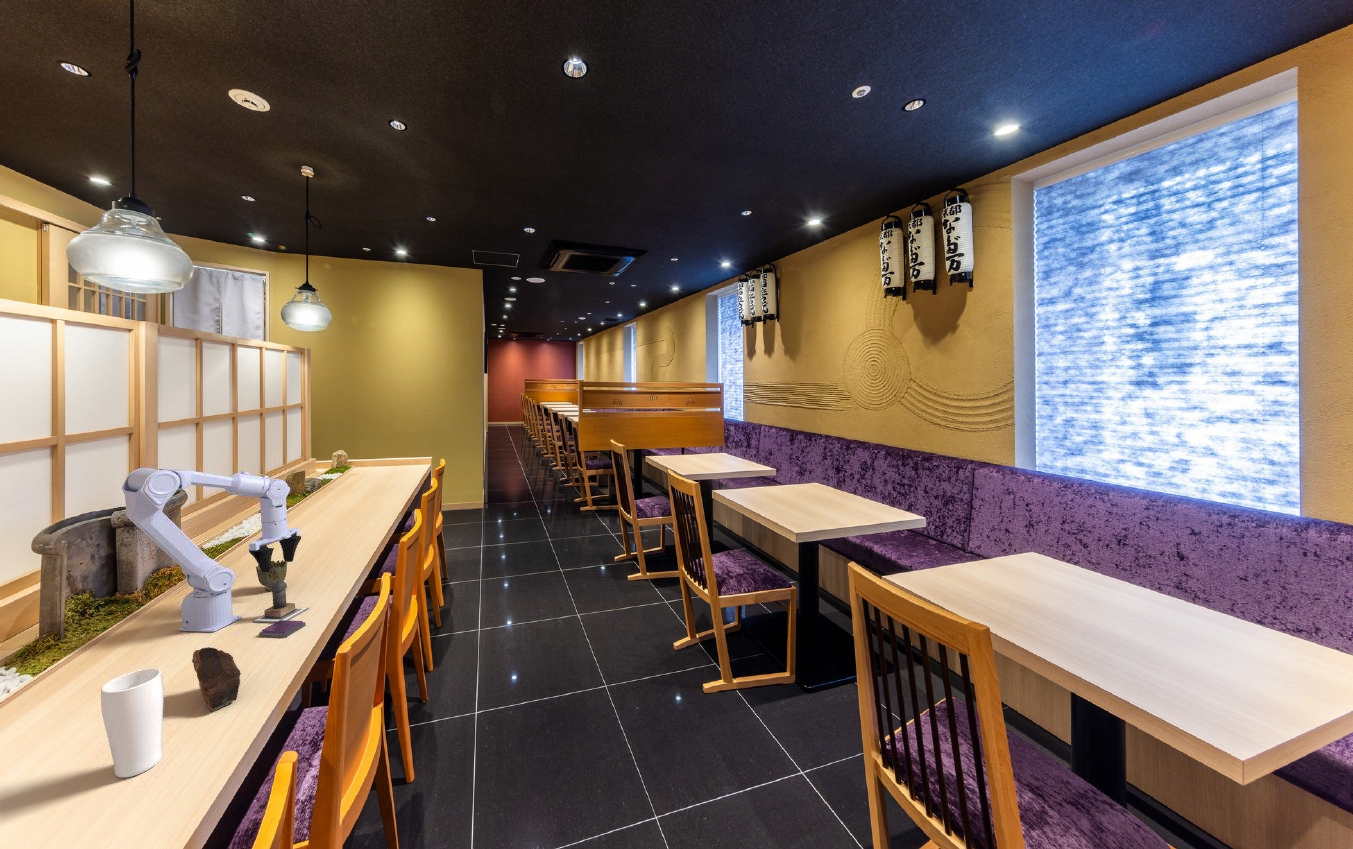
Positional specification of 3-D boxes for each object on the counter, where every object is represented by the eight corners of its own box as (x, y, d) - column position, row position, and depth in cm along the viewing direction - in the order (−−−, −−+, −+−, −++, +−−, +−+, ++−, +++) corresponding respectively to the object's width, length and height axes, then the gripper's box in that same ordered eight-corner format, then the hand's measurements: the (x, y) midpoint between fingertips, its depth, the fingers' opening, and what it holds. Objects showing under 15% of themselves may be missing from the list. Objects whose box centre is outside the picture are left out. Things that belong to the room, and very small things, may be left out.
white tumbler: (163, 745, 86) (157, 663, 85) (173, 763, 82) (166, 676, 81) (104, 770, 80) (96, 682, 79) (111, 790, 76) (103, 698, 75)
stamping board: (252, 622, 130) (252, 620, 130) (280, 608, 138) (280, 606, 138) (283, 623, 130) (283, 621, 130) (308, 608, 138) (308, 607, 138)
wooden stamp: (264, 618, 132) (262, 584, 131) (279, 610, 136) (277, 577, 135) (281, 618, 131) (278, 584, 131) (295, 610, 136) (293, 578, 135)
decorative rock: (191, 693, 100) (187, 642, 100) (231, 679, 105) (227, 630, 104) (204, 717, 93) (200, 663, 92) (246, 701, 98) (242, 649, 97)
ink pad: (259, 636, 123) (258, 630, 123) (279, 624, 129) (279, 619, 129) (286, 637, 123) (285, 631, 122) (305, 625, 128) (305, 620, 128)
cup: (270, 595, 147) (269, 569, 146) (250, 593, 148) (249, 567, 147) (294, 585, 154) (293, 560, 153) (275, 583, 155) (274, 558, 155)
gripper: (265, 527, 133) (268, 576, 134) (308, 513, 148) (311, 557, 149) (240, 527, 134) (244, 576, 135) (285, 513, 148) (288, 557, 149)
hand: (277, 566), depth 142 cm, fingers open, 7 cm apart
